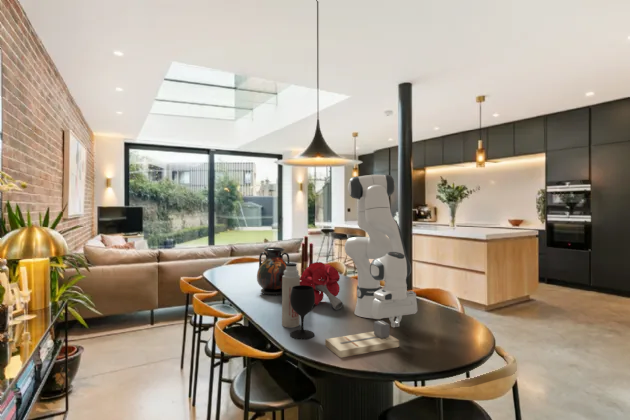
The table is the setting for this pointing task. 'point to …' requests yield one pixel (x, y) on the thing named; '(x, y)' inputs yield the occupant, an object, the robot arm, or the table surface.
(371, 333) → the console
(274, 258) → the amphora vase
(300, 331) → the wine glass
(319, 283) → the bouquet
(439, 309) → the table surface
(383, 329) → the fader
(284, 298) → the thermos bottle
